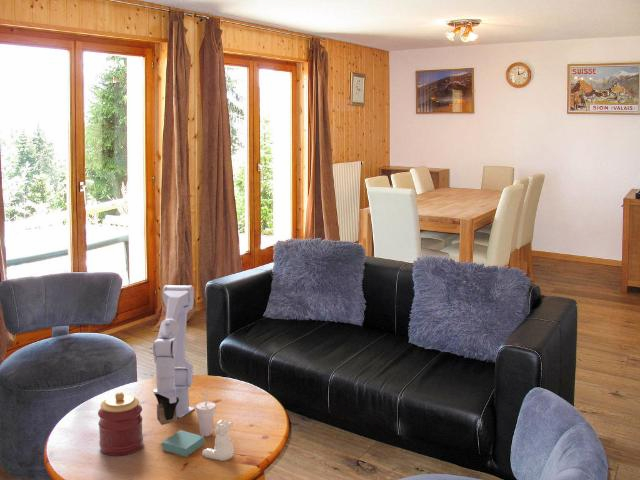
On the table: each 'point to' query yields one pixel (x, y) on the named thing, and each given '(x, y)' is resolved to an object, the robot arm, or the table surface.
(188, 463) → the table surface
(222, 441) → the seated beast figurine
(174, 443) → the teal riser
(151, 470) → the table surface
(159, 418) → the walnut block
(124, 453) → the canister
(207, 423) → the smoothie
